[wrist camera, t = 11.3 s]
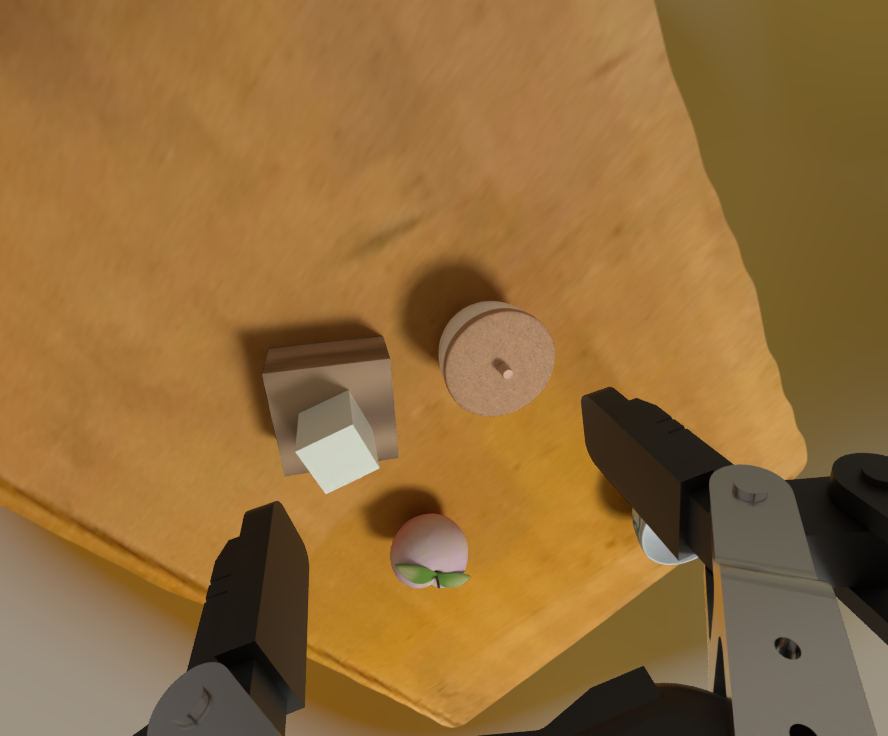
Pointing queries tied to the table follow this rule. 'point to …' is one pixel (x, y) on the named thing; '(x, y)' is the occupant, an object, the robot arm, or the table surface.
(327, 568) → the table surface
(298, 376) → the walnut block
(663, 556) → the chinaware
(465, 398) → the lidded jar
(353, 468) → the off-white cube
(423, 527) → the decorative fruit
